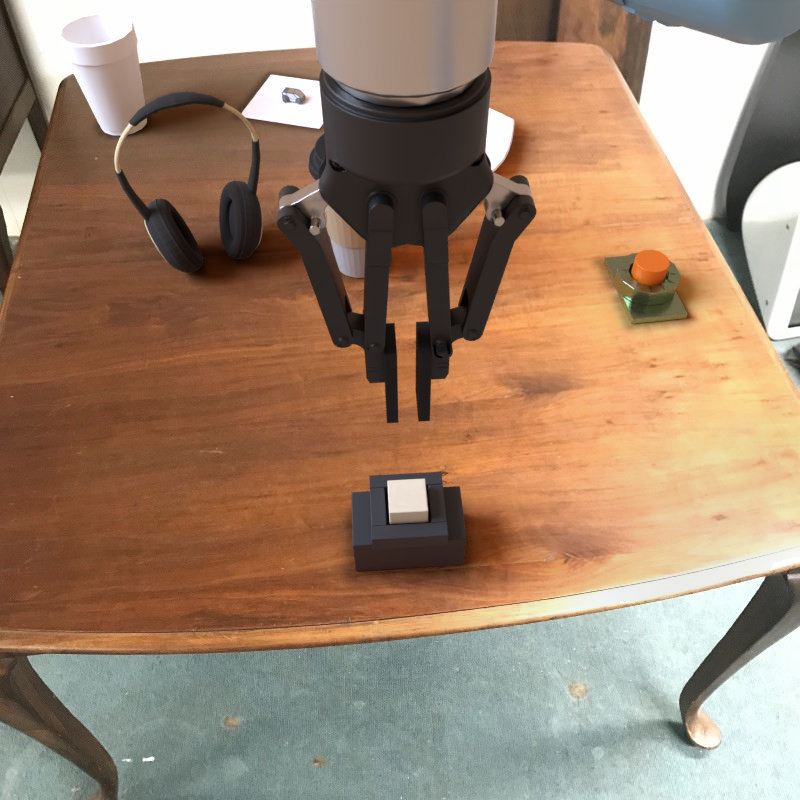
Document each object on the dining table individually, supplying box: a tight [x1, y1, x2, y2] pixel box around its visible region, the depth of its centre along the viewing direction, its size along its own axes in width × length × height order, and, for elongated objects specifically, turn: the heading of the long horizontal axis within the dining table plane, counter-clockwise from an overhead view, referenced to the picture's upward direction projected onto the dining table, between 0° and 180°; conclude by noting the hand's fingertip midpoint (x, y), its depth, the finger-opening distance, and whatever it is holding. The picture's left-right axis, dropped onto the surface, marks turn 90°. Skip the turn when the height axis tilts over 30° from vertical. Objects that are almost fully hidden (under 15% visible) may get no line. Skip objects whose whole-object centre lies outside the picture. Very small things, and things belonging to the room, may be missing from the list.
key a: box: [387, 479, 428, 524], centre depth 61 cm, size 3×3×2 cm
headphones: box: [114, 90, 264, 274], centre depth 82 cm, size 9×15×20 cm, turn 112°
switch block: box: [603, 252, 688, 325], centre depth 84 cm, size 10×6×2 cm, turn 7°
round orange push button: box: [631, 249, 671, 286], centre depth 83 cm, size 4×4×2 cm
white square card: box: [240, 74, 323, 130], centre depth 110 cm, size 12×12×2 cm
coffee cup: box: [308, 133, 365, 279], centre depth 83 cm, size 9×9×15 cm
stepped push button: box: [350, 471, 467, 572], centre depth 63 cm, size 9×6×6 cm, turn 93°
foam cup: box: [55, 11, 148, 137], centre depth 102 cm, size 10×9×13 cm
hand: (407, 405), depth 51 cm, fingers closed
